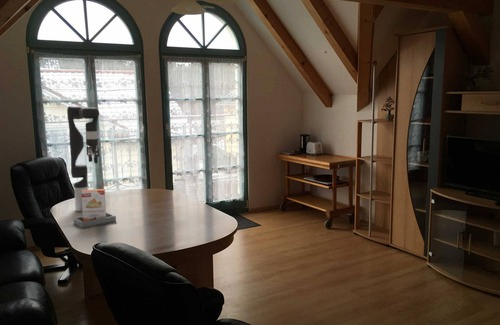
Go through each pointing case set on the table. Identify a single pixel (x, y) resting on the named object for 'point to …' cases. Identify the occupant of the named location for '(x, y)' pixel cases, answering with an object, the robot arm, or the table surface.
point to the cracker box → (93, 204)
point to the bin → (94, 221)
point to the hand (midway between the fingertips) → (93, 162)
